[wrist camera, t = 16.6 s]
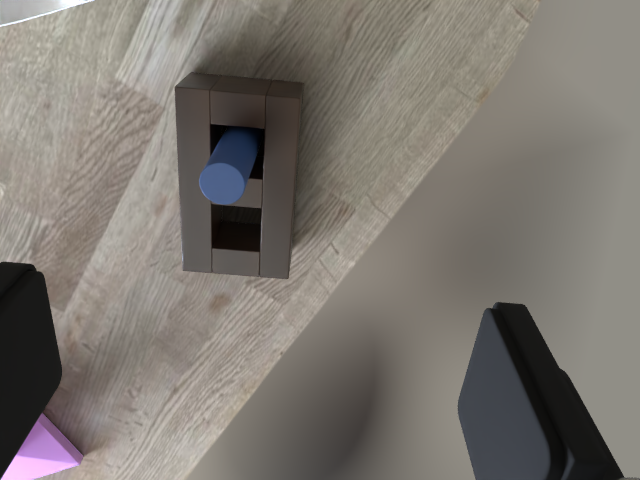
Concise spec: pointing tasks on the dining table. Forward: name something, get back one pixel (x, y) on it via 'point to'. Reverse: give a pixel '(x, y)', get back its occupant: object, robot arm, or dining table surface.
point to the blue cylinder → (231, 164)
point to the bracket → (32, 9)
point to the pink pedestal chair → (43, 453)
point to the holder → (264, 181)
